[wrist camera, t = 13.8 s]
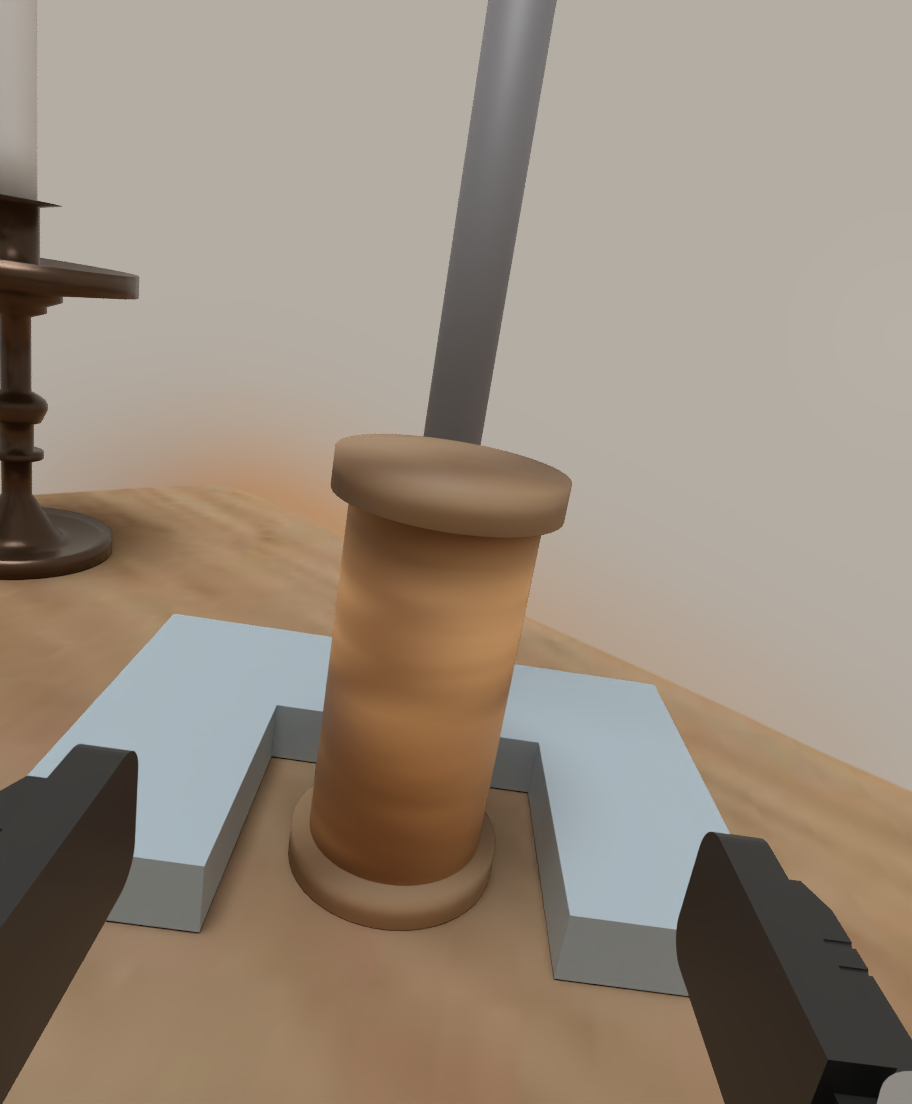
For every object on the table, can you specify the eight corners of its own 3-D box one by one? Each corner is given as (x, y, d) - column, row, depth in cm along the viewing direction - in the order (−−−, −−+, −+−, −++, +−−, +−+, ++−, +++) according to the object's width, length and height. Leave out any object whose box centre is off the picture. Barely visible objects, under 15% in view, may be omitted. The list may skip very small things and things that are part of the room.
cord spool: (246, 841, 23) (284, 436, 20) (390, 770, 28) (443, 431, 24) (390, 968, 20) (470, 505, 16) (529, 863, 24) (615, 484, 21)
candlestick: (-162, 571, 36) (-247, -464, 25) (-44, 507, 46) (-68, -247, 35) (92, 597, 37) (112, -365, 27) (152, 529, 47) (183, -185, 37)
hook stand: (-25, 903, 19) (-78, -928, 10) (171, 658, 33) (222, -241, 24) (764, 1005, 20) (1338, -600, 11) (643, 726, 34) (863, -115, 25)
